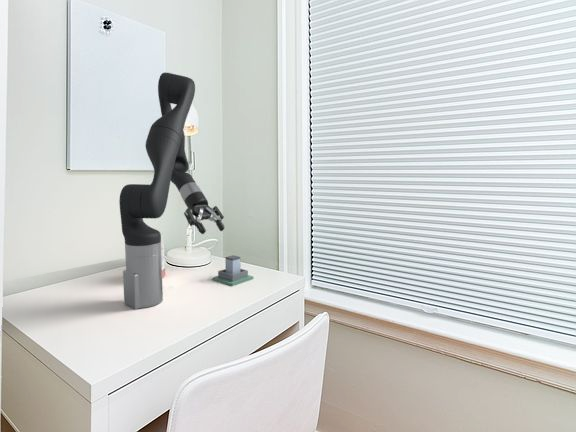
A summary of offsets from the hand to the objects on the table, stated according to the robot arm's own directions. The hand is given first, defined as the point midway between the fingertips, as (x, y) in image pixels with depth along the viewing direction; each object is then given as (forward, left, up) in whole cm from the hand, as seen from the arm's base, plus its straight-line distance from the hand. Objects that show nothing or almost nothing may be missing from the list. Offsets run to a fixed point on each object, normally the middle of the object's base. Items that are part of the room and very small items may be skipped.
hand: (213, 231), depth 119 cm
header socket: (0, -10, -16) cm, 19 cm away
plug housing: (0, -10, -15) cm, 18 cm away
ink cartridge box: (-18, +10, -16) cm, 26 cm away
